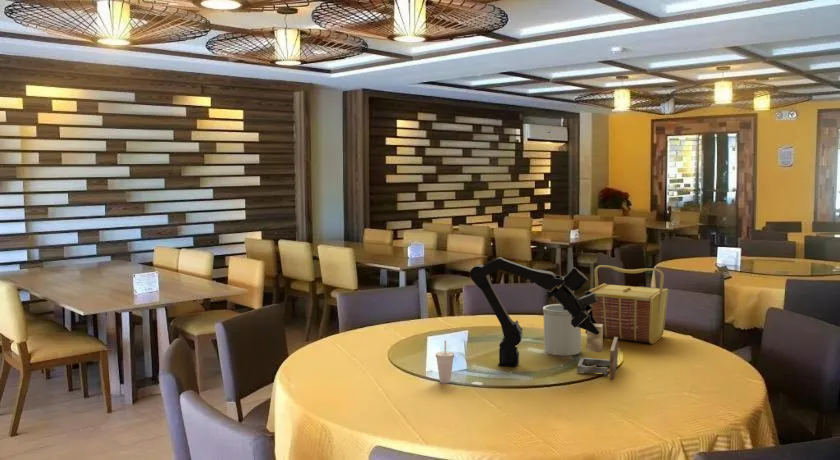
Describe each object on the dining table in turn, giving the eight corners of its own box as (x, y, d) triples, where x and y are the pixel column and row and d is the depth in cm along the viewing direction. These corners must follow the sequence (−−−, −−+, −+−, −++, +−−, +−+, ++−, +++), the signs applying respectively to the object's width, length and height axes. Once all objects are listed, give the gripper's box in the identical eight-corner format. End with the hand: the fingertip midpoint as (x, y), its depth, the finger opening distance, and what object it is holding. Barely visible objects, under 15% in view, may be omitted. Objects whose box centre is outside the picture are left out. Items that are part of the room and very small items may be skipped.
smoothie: (456, 379, 245) (456, 339, 244) (451, 385, 239) (451, 344, 238) (438, 378, 247) (438, 338, 246) (433, 383, 241) (432, 342, 240)
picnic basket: (670, 335, 305) (671, 265, 303) (654, 348, 284) (656, 273, 281) (603, 327, 321) (604, 260, 318) (583, 339, 299) (584, 268, 297)
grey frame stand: (575, 376, 248) (575, 347, 247) (582, 361, 266) (582, 334, 266) (613, 379, 243) (613, 350, 243) (617, 363, 262) (617, 337, 261)
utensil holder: (538, 354, 277) (539, 309, 275) (547, 345, 290) (547, 302, 289) (577, 357, 271) (577, 312, 270) (583, 348, 285) (584, 305, 283)
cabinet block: (585, 351, 253) (585, 326, 252) (586, 347, 258) (586, 323, 257) (601, 352, 251) (601, 327, 251) (602, 348, 256) (602, 324, 255)
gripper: (580, 289, 245) (613, 322, 242) (586, 280, 263) (617, 311, 260) (557, 310, 248) (589, 344, 246) (564, 300, 266) (595, 331, 263)
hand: (599, 332), depth 254 cm, fingers closed on cabinet block, 5 cm apart
